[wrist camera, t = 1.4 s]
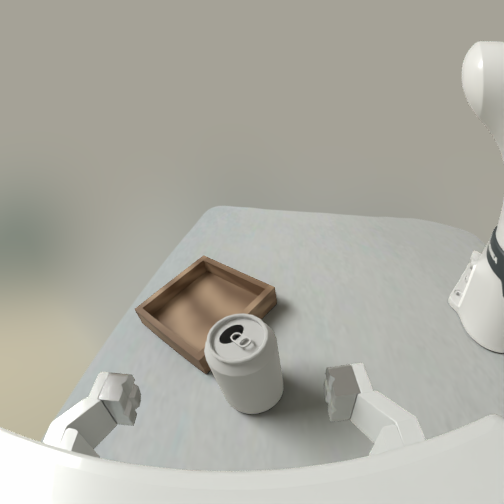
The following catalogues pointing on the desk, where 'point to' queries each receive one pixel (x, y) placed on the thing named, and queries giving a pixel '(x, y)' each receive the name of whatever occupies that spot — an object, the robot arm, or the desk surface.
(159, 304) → the tray
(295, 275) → the desk surface
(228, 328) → the can
